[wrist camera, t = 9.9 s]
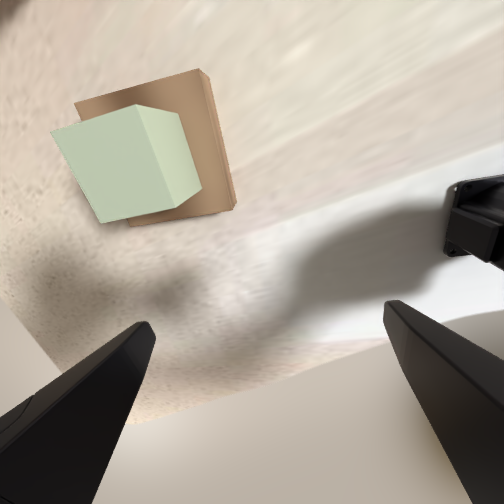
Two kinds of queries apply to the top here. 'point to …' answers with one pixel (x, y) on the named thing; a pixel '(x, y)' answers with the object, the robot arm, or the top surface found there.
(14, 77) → the top surface
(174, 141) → the sage cube
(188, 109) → the walnut slab
